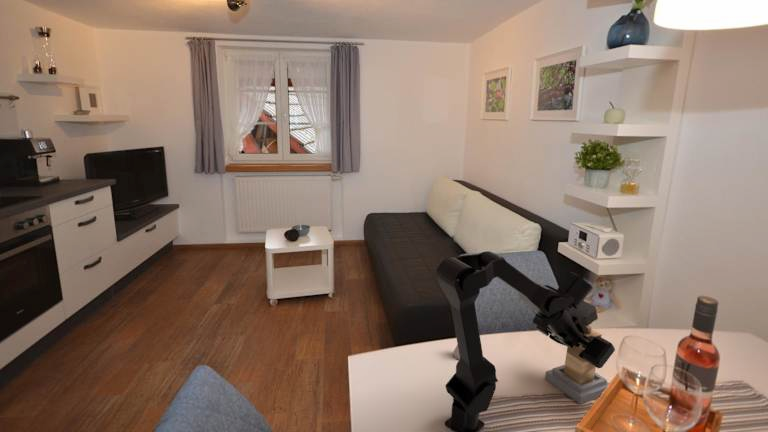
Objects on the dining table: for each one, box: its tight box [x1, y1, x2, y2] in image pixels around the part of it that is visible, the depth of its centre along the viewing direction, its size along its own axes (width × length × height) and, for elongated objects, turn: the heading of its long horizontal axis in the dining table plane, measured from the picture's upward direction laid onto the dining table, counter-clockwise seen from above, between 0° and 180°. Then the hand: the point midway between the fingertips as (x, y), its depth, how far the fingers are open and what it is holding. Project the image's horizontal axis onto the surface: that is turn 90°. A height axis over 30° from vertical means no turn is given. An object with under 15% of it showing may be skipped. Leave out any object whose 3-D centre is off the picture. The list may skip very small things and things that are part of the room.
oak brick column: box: [563, 325, 603, 385], centre depth 106 cm, size 5×5×14 cm
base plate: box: [544, 364, 611, 405], centre depth 108 cm, size 11×11×3 cm
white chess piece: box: [453, 343, 460, 361], centre depth 118 cm, size 4×4×8 cm
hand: (585, 353), depth 106 cm, fingers closed on oak brick column, 5 cm apart
